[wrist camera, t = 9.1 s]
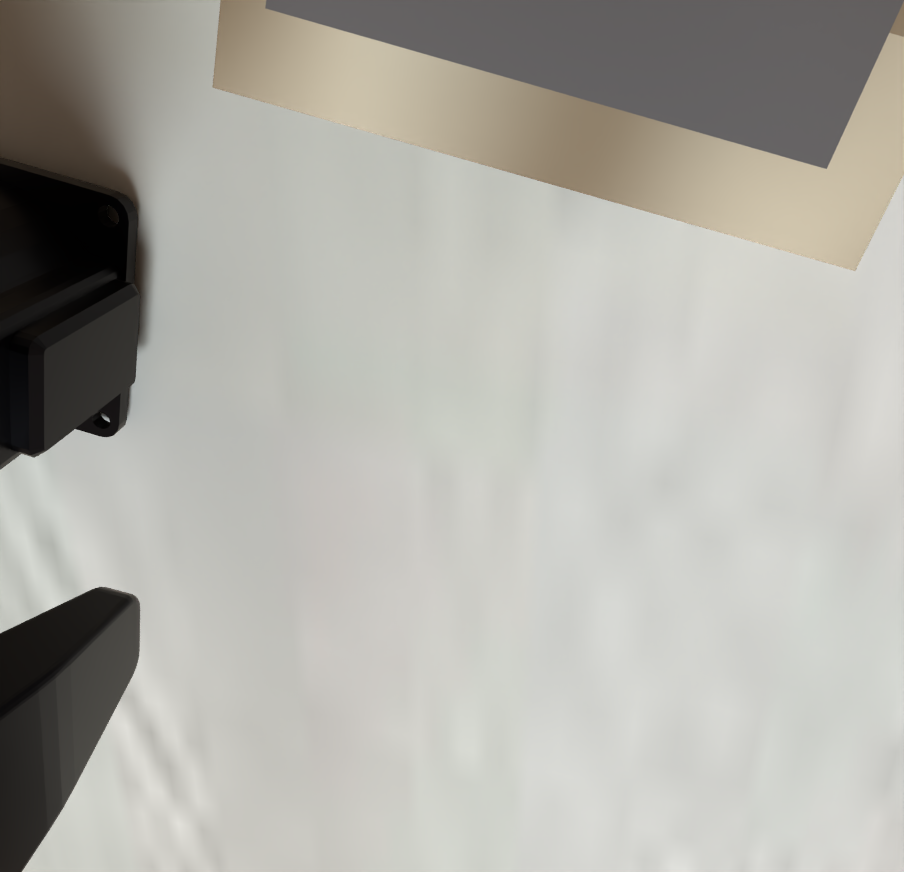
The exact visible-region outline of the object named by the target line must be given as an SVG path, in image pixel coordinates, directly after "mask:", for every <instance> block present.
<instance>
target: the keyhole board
mask: <svg viewBox="0 0 904 872" xmlns="http://www.w3.org/2000/svg"><path fill="white" fill-rule="evenodd" d="M265 6H266V0H221V3H220V14H219V24H218V35H217V46H216V57H215V68H214V79H213V88H217V89H220V90H224V91H227V92H231V93H234V94H238V95H241V96H245V97H248V98H252V99H255V100H259V101H262V102H266V103H269V104H273V105H276V106H280V107H283V108H287V109H290V110H294V111H297V112H301V113H304V114H308V115H311V116H315V117H318V118H322V119H325V120H329V121H332V122H336V123H339V124H343V125H346V126H350V127H353V128H357V129H360V130H364V131H367V132H371V133H374V134H378V135H381V136H385V137H388V138H392V139H395V140H399V141H402V142H406V143H409V144H413V145H416V146H420V147H423V148H427V149H430V150H434V151H437V152H441V153H444V154H448V155H451V156H455V157H458V158H462V159H465V160H469V161H472V162H476V163H479V164H483V165H486V166H490V167H493V168H496V169H500V170H503V171H507V172H510V173H514V174H517V175H521V176H524V177H528V178H531V179H535V180H538V181H542V182H545V183H549V184H552V185H556V186H559V187H563V188H566V189H570V190H573V191H577V192H580V193H584V194H587V195H591V196H594V197H598V198H601V199H605V200H608V201H612V202H615V203H619V204H622V205H626V206H629V207H633V208H636V209H640V210H643V211H647V212H650V213H654V214H657V215H661V216H664V217H668V218H671V219H675V220H678V221H682V222H685V223H689V224H692V225H696V226H699V227H703V228H706V229H710V230H713V231H717V232H720V233H724V234H727V235H731V236H734V237H738V238H741V239H745V240H748V241H752V242H755V243H759V244H762V245H766V246H769V247H773V248H776V249H780V250H783V251H787V252H790V253H794V254H797V255H801V256H804V257H808V258H811V259H815V260H818V261H822V262H825V263H829V264H832V265H836V266H839V267H843V268H846V269H850V270H853V271H855V270H856V268H857V266H858V264H859V262H860V260H861V258H862V256H863V254H864V252H865V250H866V248H867V246H868V244H869V242H870V240H871V238H872V236H873V234H874V232H875V231H876V229H877V227H878V225H879V223H880V221H881V219H882V217H883V215H884V213H885V211H886V209H887V207H888V205H889V203H890V201H891V199H892V197H893V195H894V193H895V191H896V189H897V187H898V185H899V183H900V181H901V179H902V177H903V175H904V2H903V4H902V6H901V9H900V11H899V13H898V15H897V17H896V19H895V22H894V24H893V26H892V28H891V30H890V32H889V35H888V37H887V39H886V41H885V43H884V46H883V48H882V50H881V52H880V54H879V56H878V59H877V61H876V63H875V65H874V67H873V69H872V72H871V74H870V76H869V78H868V80H867V83H866V85H865V87H864V89H863V91H862V93H861V96H860V98H859V100H858V102H857V104H856V107H855V109H854V111H853V113H852V115H851V117H850V120H849V122H848V124H847V126H846V128H845V130H844V133H843V135H842V137H841V139H840V141H839V144H838V146H837V148H836V150H835V152H834V154H833V157H832V159H831V161H830V163H829V165H828V167H827V169H824V168H821V167H817V166H814V165H810V164H807V163H803V162H800V161H796V160H793V159H789V158H786V157H782V156H779V155H775V154H772V153H768V152H765V151H761V150H758V149H754V148H751V147H748V146H744V145H741V144H737V143H734V142H730V141H727V140H723V139H720V138H716V137H713V136H709V135H706V134H702V133H699V132H695V131H692V130H688V129H685V128H681V127H678V126H674V125H671V124H667V123H664V122H660V121H657V120H653V119H650V118H646V117H643V116H639V115H636V114H632V113H629V112H625V111H622V110H618V109H615V108H611V107H608V106H604V105H601V104H597V103H594V102H590V101H587V100H583V99H580V98H576V97H573V96H569V95H566V94H562V93H559V92H555V91H552V90H548V89H545V88H541V87H538V86H534V85H531V84H527V83H524V82H520V81H517V80H513V79H510V78H507V77H503V76H500V75H496V74H493V73H489V72H486V71H482V70H479V69H475V68H472V67H468V66H465V65H461V64H458V63H454V62H451V61H447V60H444V59H440V58H437V57H433V56H430V55H426V54H423V53H419V52H416V51H412V50H409V49H405V48H402V47H398V46H395V45H391V44H388V43H384V42H381V41H377V40H374V39H370V38H367V37H363V36H360V35H356V34H353V33H349V32H346V31H342V30H339V29H335V28H332V27H328V26H325V25H321V24H318V23H314V22H311V21H307V20H304V19H300V18H297V17H293V16H290V15H286V14H283V13H279V12H276V11H272V10H269V9H265Z"/></svg>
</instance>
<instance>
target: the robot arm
mask: <svg viewBox="0 0 904 872" xmlns="http://www.w3.org/2000/svg"><path fill="white" fill-rule="evenodd" d="M108 205H109V206H111V207H113V208H114V209H115V210H116V212H117V213H118V217H119V221H118V224H117V223H115V222H113V221H112V220H111V219H110V217H109V216H108V212H107V208H108ZM137 220H138V218H137V211H136V208H135V206H134V204H133V202H132V201H131V200H130V199H129V198H128V197H127V196H126V195H124V194H122V193H120V192H118V191H114V190H111V189H107V188H104V187H100V186H97V185H93V184H90V183H87V182H83V181H80V180H76V179H73V178H69V177H66V176H62V175H59V174H56V173H52V172H49V171H45V170H42V169H38V168H35V167H31V166H28V165H25V164H21V163H18V162H14V161H11V160H7V159H4V158H0V469H2V468H3V467H4V466H6V465H7V464H8V463H10V462H11V461H12V460H14V459H15V458H16V457H18V456H19V455H20V454H24V455H27V456H31V457H36V456H39V455H40V454H42V453H44V452H45V451H47V450H48V449H50V448H51V447H52V446H54V445H55V444H56V443H57V442H59V441H60V440H61V439H63V438H64V437H65V436H66V435H68V434H69V433H70V432H72V431H73V430H74V429H77V430H81V431H84V432H88V433H91V434H94V435H98V436H102V437H110V436H113V435H114V434H116V433H117V432H118V431H119V430H120V429H121V428H122V427H123V426H124V425H125V424H126V420H127V406H128V387H129V386H131V385H132V384H133V383H134V382H135V377H136V360H137V343H138V326H139V308H140V294H139V292H138V290H137V288H136V286H135V285H134V276H135V257H136V238H137ZM100 412H103V413H105V414H106V415H107V416H108V417H109V419H110V422H108V421H106V420H104V419H103V418H102V416H101V414H100ZM139 647H140V603H139V600H138V598H137V597H136V596H134V595H133V594H129V593H126V592H122V591H118V590H114V589H111V588H107V587H98V588H95V589H92V590H90V591H88V592H86V593H84V594H82V595H79V596H77V597H75V598H73V599H71V600H69V601H67V602H65V603H63V604H61V605H59V606H57V607H54V608H52V609H50V610H48V611H46V612H44V613H42V614H40V615H38V616H36V617H34V618H32V619H29V620H27V621H25V622H23V623H21V624H19V625H17V626H15V627H13V628H11V629H9V630H7V631H4V632H2V633H0V872H22V871H23V869H24V868H25V866H26V865H27V863H28V862H29V860H30V859H31V857H32V856H33V854H34V853H35V851H36V849H37V848H38V846H39V845H40V843H41V842H42V840H43V839H44V837H45V836H46V834H47V833H48V831H49V830H50V828H51V827H52V825H53V823H54V822H55V820H56V819H57V817H58V815H59V814H60V812H61V811H62V809H63V807H64V805H65V804H66V802H67V800H68V798H69V796H70V794H71V793H72V791H73V789H74V787H75V785H76V783H77V781H78V780H79V778H80V776H81V774H82V772H83V770H84V768H85V766H86V764H87V762H88V760H89V758H90V757H91V755H92V753H93V751H94V749H95V747H96V745H97V743H98V741H99V739H100V737H101V735H102V734H103V732H104V730H105V728H106V726H107V724H108V722H109V720H110V718H111V716H112V714H113V712H114V711H115V709H116V707H117V705H118V703H119V701H120V699H121V697H122V695H123V693H124V691H125V689H126V688H127V686H128V684H129V682H130V680H131V678H132V676H133V674H134V671H135V669H136V666H137V662H138V658H139Z"/></svg>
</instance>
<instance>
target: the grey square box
mask: <svg viewBox="0 0 904 872" xmlns="http://www.w3.org/2000/svg"><path fill="white" fill-rule="evenodd" d="M903 2H904V0H266V6H265V9H269V10H272V11H276V12H279V13H283V14H286V15H290V16H293V17H297V18H300V19H304V20H307V21H311V22H314V23H318V24H321V25H325V26H328V27H332V28H335V29H339V30H342V31H346V32H349V33H353V34H356V35H360V36H363V37H367V38H370V39H374V40H377V41H381V42H384V43H388V44H391V45H395V46H398V47H402V48H405V49H409V50H412V51H416V52H419V53H423V54H426V55H430V56H433V57H437V58H440V59H444V60H447V61H451V62H454V63H458V64H461V65H465V66H468V67H472V68H475V69H479V70H482V71H486V72H489V73H493V74H496V75H500V76H503V77H507V78H510V79H513V80H517V81H520V82H524V83H527V84H531V85H534V86H538V87H541V88H545V89H548V90H552V91H555V92H559V93H562V94H566V95H569V96H573V97H576V98H580V99H583V100H587V101H590V102H594V103H597V104H601V105H604V106H608V107H611V108H615V109H618V110H622V111H625V112H629V113H632V114H636V115H639V116H643V117H646V118H650V119H653V120H657V121H660V122H664V123H667V124H671V125H674V126H678V127H681V128H685V129H688V130H692V131H695V132H699V133H702V134H706V135H709V136H713V137H716V138H720V139H723V140H727V141H730V142H734V143H737V144H741V145H744V146H748V147H751V148H754V149H758V150H761V151H765V152H768V153H772V154H775V155H779V156H782V157H786V158H789V159H793V160H796V161H800V162H803V163H807V164H810V165H814V166H817V167H821V168H824V169H827V167H828V165H829V163H830V161H831V159H832V157H833V154H834V152H835V150H836V148H837V146H838V144H839V141H840V139H841V137H842V135H843V133H844V130H845V128H846V126H847V124H848V122H849V120H850V117H851V115H852V113H853V111H854V109H855V107H856V104H857V102H858V100H859V98H860V96H861V93H862V91H863V89H864V87H865V85H866V83H867V80H868V78H869V76H870V74H871V72H872V69H873V67H874V65H875V63H876V61H877V59H878V56H879V54H880V52H881V50H882V48H883V46H884V43H885V41H886V39H887V37H888V35H889V32H890V30H891V28H892V26H893V24H894V22H895V19H896V17H897V15H898V13H899V11H900V9H901V6H902V4H903Z"/></svg>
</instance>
